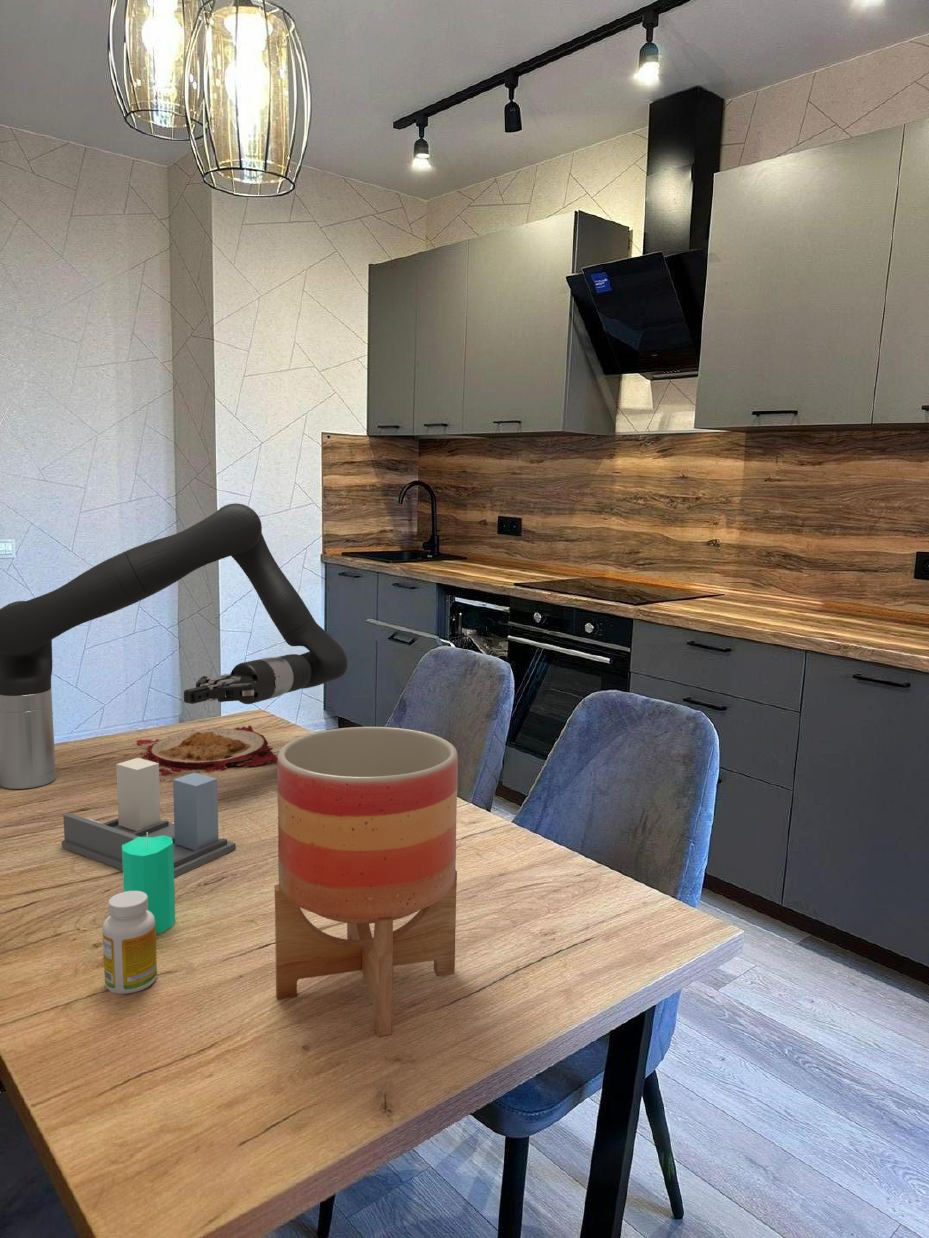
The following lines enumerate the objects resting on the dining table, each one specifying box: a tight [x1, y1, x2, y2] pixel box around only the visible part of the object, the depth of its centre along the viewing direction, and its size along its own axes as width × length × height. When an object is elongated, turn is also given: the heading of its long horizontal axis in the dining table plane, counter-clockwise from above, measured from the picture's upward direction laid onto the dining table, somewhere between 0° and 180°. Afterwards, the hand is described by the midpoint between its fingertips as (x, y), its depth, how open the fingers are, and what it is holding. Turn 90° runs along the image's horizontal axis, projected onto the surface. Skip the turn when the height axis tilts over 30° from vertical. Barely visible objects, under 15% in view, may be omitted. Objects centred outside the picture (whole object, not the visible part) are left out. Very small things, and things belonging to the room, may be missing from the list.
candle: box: [122, 832, 176, 935], centre depth 106 cm, size 6×6×12 cm
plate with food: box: [136, 725, 278, 776], centre depth 177 cm, size 25×26×4 cm
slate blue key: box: [172, 772, 219, 850], centre depth 128 cm, size 5×4×10 cm
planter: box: [274, 726, 459, 1038], centre depth 93 cm, size 20×20×27 cm
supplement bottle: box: [102, 891, 158, 995], centre depth 94 cm, size 5×5×10 cm
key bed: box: [61, 812, 236, 878], centre depth 129 cm, size 22×14×5 cm, turn 59°
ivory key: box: [115, 757, 162, 831], centre depth 135 cm, size 5×4×10 cm
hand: (187, 697), depth 141 cm, fingers closed
